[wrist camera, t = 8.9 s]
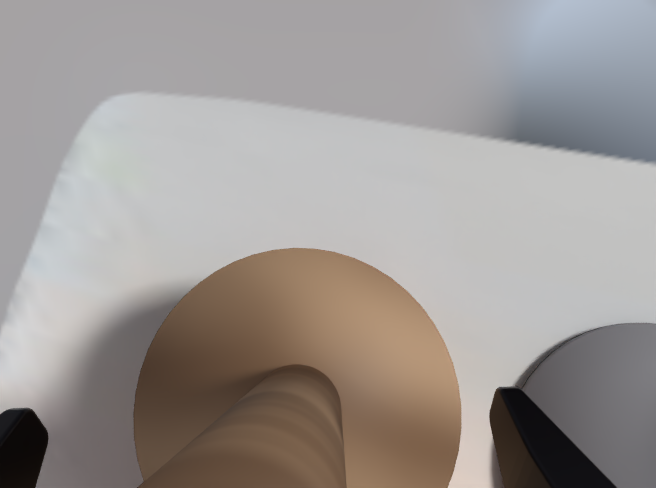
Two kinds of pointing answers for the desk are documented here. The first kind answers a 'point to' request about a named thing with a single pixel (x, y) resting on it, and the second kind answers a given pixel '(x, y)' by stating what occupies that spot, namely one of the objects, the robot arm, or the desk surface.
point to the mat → (605, 399)
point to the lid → (297, 382)
